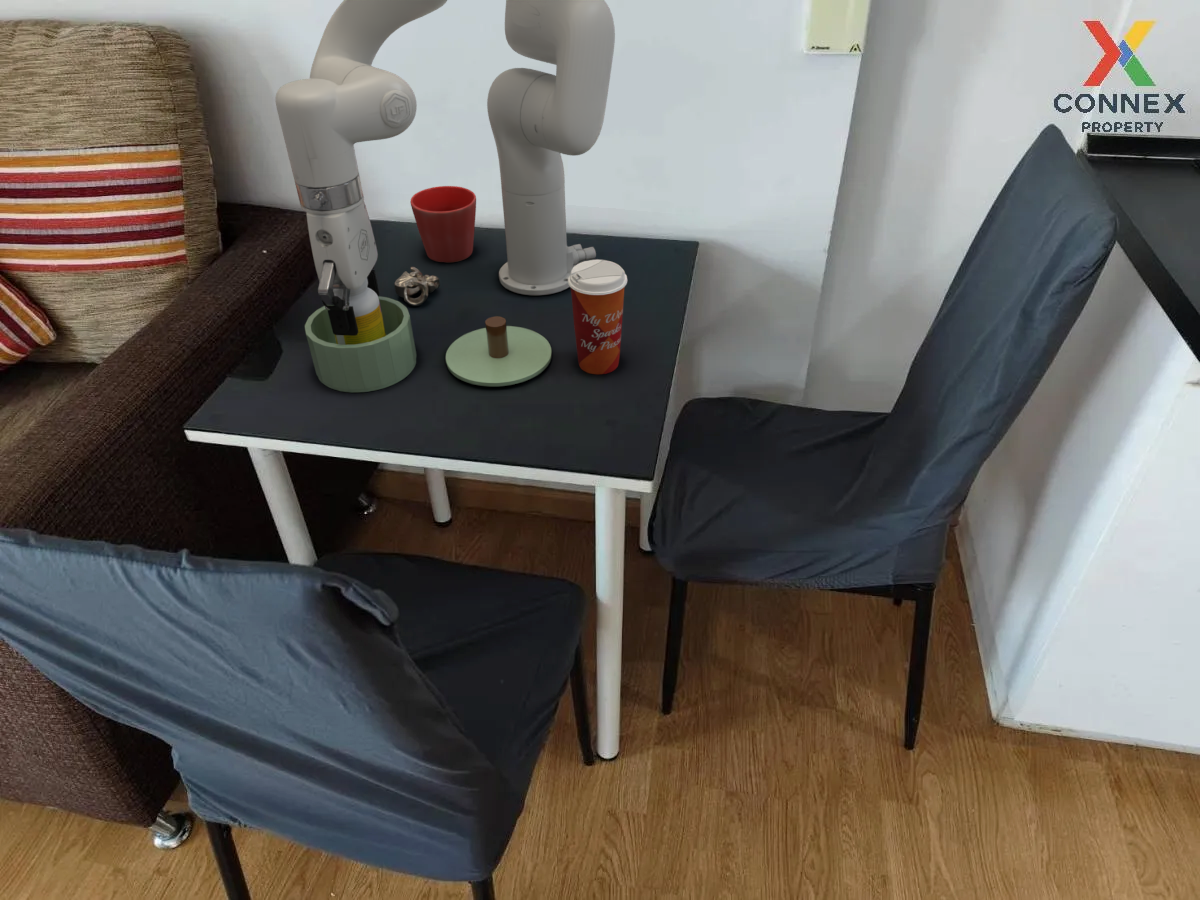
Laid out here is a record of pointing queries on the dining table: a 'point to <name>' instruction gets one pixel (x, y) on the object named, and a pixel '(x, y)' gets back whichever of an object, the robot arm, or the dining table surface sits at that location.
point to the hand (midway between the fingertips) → (357, 314)
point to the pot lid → (498, 354)
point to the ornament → (415, 286)
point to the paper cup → (597, 313)
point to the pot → (363, 352)
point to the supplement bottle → (363, 315)
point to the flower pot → (445, 222)
